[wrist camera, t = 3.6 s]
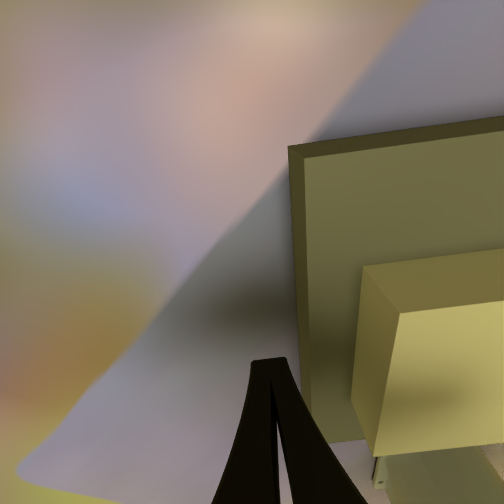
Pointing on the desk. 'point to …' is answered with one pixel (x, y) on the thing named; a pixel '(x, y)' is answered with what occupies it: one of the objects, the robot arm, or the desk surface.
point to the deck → (380, 234)
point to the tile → (431, 353)
